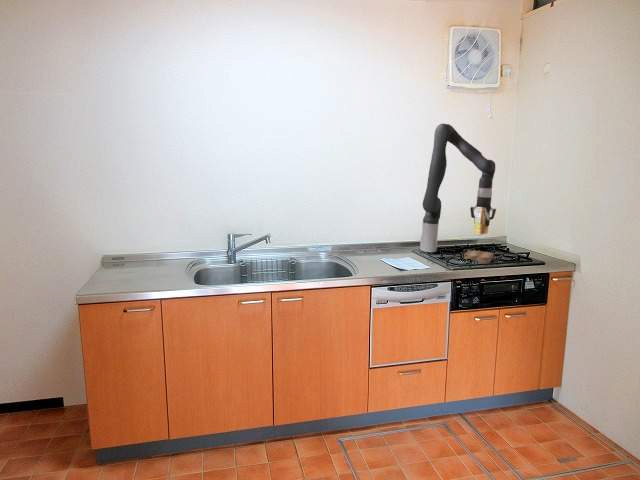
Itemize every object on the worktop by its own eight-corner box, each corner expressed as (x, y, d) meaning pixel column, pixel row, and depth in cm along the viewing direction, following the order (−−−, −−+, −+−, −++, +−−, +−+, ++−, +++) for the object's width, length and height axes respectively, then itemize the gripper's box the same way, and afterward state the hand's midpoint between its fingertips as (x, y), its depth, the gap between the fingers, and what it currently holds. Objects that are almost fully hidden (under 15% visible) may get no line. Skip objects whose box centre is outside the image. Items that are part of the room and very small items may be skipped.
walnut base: (463, 259, 263) (463, 254, 263) (468, 254, 275) (468, 249, 275) (489, 263, 257) (489, 257, 256) (493, 258, 269) (493, 253, 268)
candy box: (481, 232, 268) (484, 205, 265) (488, 233, 264) (490, 206, 261) (473, 234, 262) (475, 206, 259) (479, 235, 259) (482, 207, 256)
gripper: (469, 195, 259) (467, 225, 262) (497, 197, 252) (493, 228, 256) (472, 194, 265) (469, 223, 269) (499, 196, 259) (495, 226, 262)
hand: (481, 225), depth 262 cm, fingers closed on candy box, 5 cm apart
